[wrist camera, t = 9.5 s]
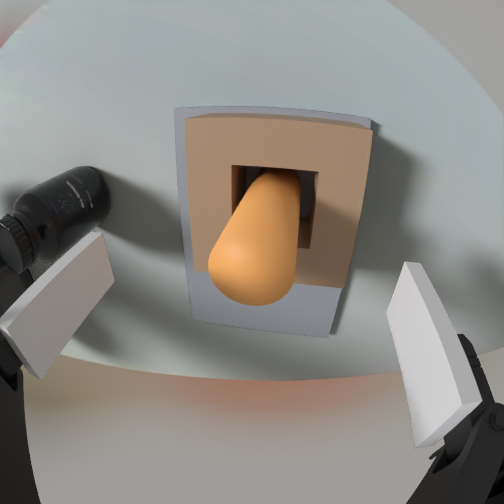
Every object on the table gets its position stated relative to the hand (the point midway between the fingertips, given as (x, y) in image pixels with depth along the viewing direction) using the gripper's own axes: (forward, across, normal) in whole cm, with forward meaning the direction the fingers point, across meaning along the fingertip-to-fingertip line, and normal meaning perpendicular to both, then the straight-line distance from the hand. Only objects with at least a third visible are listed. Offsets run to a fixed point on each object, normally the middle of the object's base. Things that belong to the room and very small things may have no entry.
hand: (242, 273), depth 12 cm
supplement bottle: (+14, -19, -2) cm, 24 cm away
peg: (+12, +1, 0) cm, 12 cm away
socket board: (+13, 0, -5) cm, 14 cm away
